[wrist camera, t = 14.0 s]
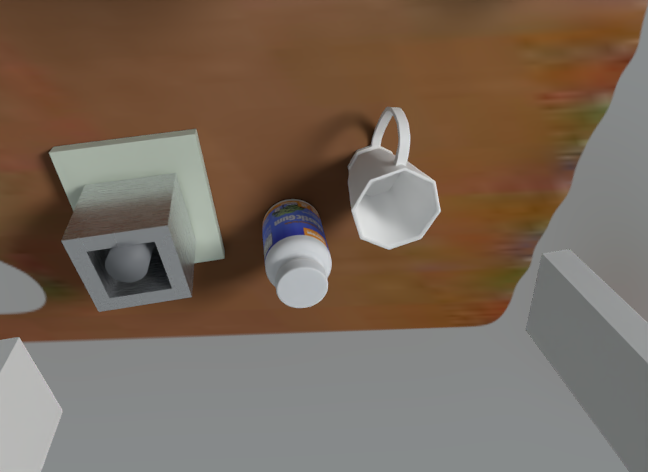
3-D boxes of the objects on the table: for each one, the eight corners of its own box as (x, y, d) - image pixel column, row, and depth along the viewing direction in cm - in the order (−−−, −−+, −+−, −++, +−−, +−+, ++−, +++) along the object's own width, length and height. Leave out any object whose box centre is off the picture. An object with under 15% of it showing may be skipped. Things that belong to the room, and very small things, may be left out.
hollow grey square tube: (84, 185, 37) (61, 240, 32) (175, 172, 38) (167, 225, 32) (115, 252, 41) (98, 311, 36) (196, 240, 42) (191, 297, 37)
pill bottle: (324, 199, 43) (344, 260, 35) (315, 249, 46) (332, 316, 38) (264, 194, 42) (271, 256, 34) (258, 245, 45) (263, 314, 37)
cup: (328, 201, 43) (345, 250, 37) (341, 91, 38) (363, 125, 32) (401, 202, 45) (431, 250, 38) (423, 96, 40) (462, 129, 33)
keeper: (53, 146, 37) (6, 202, 29) (196, 128, 38) (186, 178, 30) (104, 269, 44) (76, 341, 36) (224, 251, 45) (222, 317, 37)
